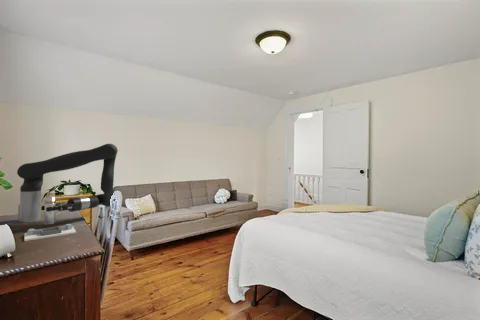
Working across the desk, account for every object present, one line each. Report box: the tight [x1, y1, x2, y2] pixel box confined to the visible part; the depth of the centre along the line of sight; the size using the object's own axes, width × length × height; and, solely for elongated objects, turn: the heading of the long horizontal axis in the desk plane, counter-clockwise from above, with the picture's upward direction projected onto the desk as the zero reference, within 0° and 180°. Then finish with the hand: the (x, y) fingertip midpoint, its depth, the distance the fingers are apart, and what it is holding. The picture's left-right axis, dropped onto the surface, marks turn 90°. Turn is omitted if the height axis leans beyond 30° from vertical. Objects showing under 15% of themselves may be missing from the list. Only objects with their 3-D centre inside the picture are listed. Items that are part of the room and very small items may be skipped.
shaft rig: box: [23, 223, 77, 242], centre depth 118 cm, size 19×11×3 cm, turn 131°
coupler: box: [43, 195, 57, 225], centre depth 129 cm, size 5×5×14 cm
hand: (44, 208), depth 127 cm, fingers closed on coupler, 4 cm apart
